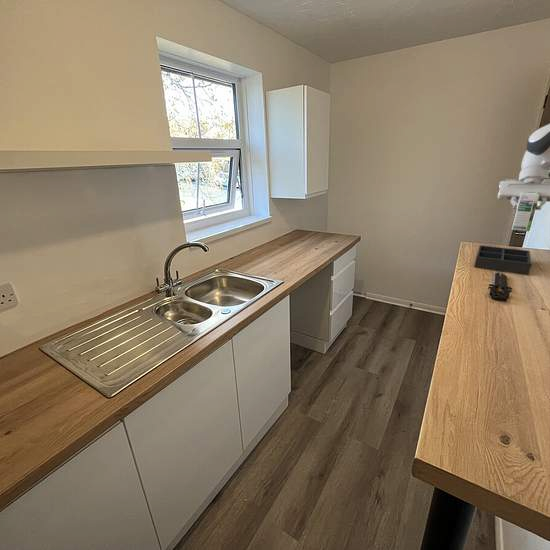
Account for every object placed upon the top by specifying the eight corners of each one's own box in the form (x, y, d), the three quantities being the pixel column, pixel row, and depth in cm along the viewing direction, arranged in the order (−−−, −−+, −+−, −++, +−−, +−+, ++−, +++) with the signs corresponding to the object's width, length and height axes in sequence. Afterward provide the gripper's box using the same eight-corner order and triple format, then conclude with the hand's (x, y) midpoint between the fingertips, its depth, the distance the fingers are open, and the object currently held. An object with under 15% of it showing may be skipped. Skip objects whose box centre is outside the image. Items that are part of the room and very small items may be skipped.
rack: (526, 261, 126) (529, 250, 124) (528, 275, 113) (531, 263, 111) (477, 255, 135) (479, 245, 134) (474, 267, 123) (476, 256, 121)
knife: (494, 273, 116) (495, 270, 116) (515, 276, 112) (516, 273, 112) (484, 297, 99) (485, 294, 98) (508, 303, 95) (509, 299, 94)
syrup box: (511, 230, 120) (520, 192, 114) (512, 226, 124) (521, 190, 118) (529, 231, 117) (539, 193, 111) (530, 228, 121) (540, 191, 115)
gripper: (501, 174, 123) (495, 202, 120) (568, 174, 112) (563, 205, 109) (499, 184, 128) (493, 211, 125) (563, 185, 117) (558, 214, 114)
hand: (526, 208), depth 117 cm, fingers closed on syrup box, 6 cm apart
